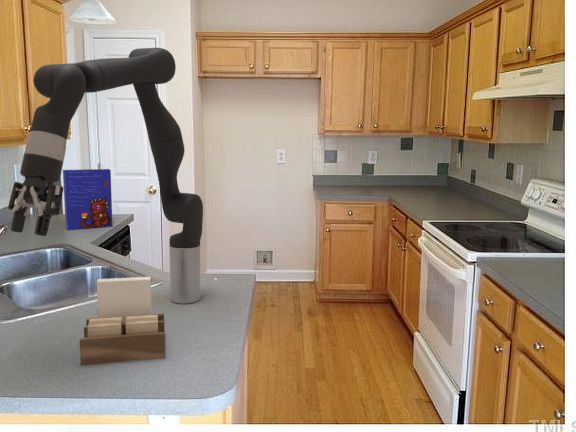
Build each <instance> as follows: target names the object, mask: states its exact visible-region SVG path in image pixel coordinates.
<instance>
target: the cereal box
mask: <svg viewBox="0 0 576 432" xmlns="http://www.w3.org/2000/svg"><path fill="white" fill-rule="evenodd" d="M111 175H112V172H111V169H109V168H101V169H99V168H98V169H96V168H95V169H93V168H92V169H91V168H90V169H88V168H87V169H62V177H63V180H62V181H63V182H62V183H63V200H64V218H65V220H64V221H65V229H66V230H67V231H74V230H75V231H77V230H88V229H102V228H113V227H114V226H113V204H112V202H113V201H112V176H111Z"/></svg>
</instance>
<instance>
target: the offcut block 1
mask: <svg viewBox="0 0 576 432" xmlns="http://www.w3.org/2000/svg"><path fill="white" fill-rule="evenodd" d="M89 319H90V321H89V324H88V327H87V328H88V338H90V337H103V336H116V335H123V329H122V317H117V318H102V319H91V318H89Z"/></svg>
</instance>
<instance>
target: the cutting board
mask: <svg viewBox="0 0 576 432" xmlns="http://www.w3.org/2000/svg"><path fill="white" fill-rule="evenodd" d="M151 278H152V277H151V276H137V277H136V276H135V277H134V276H133V277H132V276H131V277H114V278H98V279H97V280H96V297H97V298H96V299H97V300H96V301H97V318H98V319H102V318H117V317H122V323H126V318H127V317H132V316H147V315H151V314H152V279H151Z"/></svg>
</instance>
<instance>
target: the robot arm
mask: <svg viewBox="0 0 576 432" xmlns="http://www.w3.org/2000/svg"><path fill="white" fill-rule="evenodd" d="M176 68H177V67H176V61H175V58H174V56H173V54H172V52H170V51H169V50H167V49H165V48H162V47H145V48H144V47H143V48H142V47H141V48H140V47H139V48H134V49H133V50H131V51H130V52H129V55H128V57H112V58H111V57H109V58H106V57H105V58H97V59H89V60H84V61H83V60H82V61H79V62H74V63H73V62H72V63H71V62H70V63H69V62H68V63H54V64H45V65H42V66H41V67H39V68H38V69H37V70H36V71H35V72H34V75H33V85H34V87H35V90H36V91H37V92H38V93H39V94H40V95H41V96H43V97H45V98H48V99H49V100H48V101H47V102H46V103H45V104H42V105H39V106H37V108H35V111H34V114H33V118H32V123H31V126H30V132H29V135H28V137H27V139H26V144H25V148H24V153H23V158H22V162H21V164H20V165H21V166H20V171H19V173H20V176H22V177H24V178H25V179H24V181H23V183H22V182H19V181H15V182H14V183H13V187H12V190H11V194H10V196H9V197H10V198H9V202H8V206H7V209H8V210H11V212H12V213H13V217H12V221H11V226H10V231H11V232H13V233H15V232H16V233H22V232H23V231H24V228H25V227H24V226H25V222H26V217H27V214H28V212H29V210H30V209H32V208H33V207H35V208H36V209H37V212H38V216H37V219H36V223H35V224H36V225H35V229H34V234H35V236H42V237H46V236H47V235H48V231H49V226H50V221H51V219H52V218H53V217H54V216H59V215H60V213H61V212H60V210H61V206H62V205H61V204H62V200H63V195H64V186H63V185H62V186H61V185H58V184H55V183H59V182H60V180H61V177H62V172H63V166H64V161H65V156H66V150H67V140H68V135H69V130H70V126H71V121H72V119H73V118H74V116H75V114H76V113H77V110H78V108H79V106H80V104H81V102H82V100H83V98H84V96H85V94H86V93H89V94H90V93H97V92H103V91H107V90H113V89H115V88H119V87H121V88H122V87H125V86H129V85H132V86H133V88H134V91H135V94H136V97H137V100H138V103H139V105H140V109H141V113H142V117H143V120H144V124H145V128H146V133H147V138H148V143H149V146H150V150H151V154H152V157H153V161H154V165H155V170H156V175H157V180H158V187H159V194H160V200H161V207H162V211H163V215H164V217H165V219H166V220H167V221H169V222H171V223H176V224H182V230H181V232H178V233H175V234H172V235H171V236H169V239H168V240H169V290H170V294H169V297H170V301H171V302H172V303H176V304H181V305H182V304H193V303H196V302H199V301H200V300H201V239H202V234H203V221H204V220H203V219H204V205H203V200H202V198H201V196H200V195H198V194H195V193H189V192H181V191H180V188H179V186H178V184H179V182H178V172H179V169H180V167H181V165H182V163H183V160H184V156H185V150H186V149H185V143H184V140H183V139H184V138H183V135H182V130H181V128H180V126H179V123H178V122H177V120H176V119H175V117H174V116H173V115H172V114H171V112H170V111H169V110H168V109H167V108H166V106H165V104H164V103H163V102H162V100H161V97H160V96H159V92H158V89H157V86H156V85H162V84H167V83H169V82H171V80H173V78H174V76H175V74H176ZM53 207H54V208H53Z"/></svg>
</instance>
